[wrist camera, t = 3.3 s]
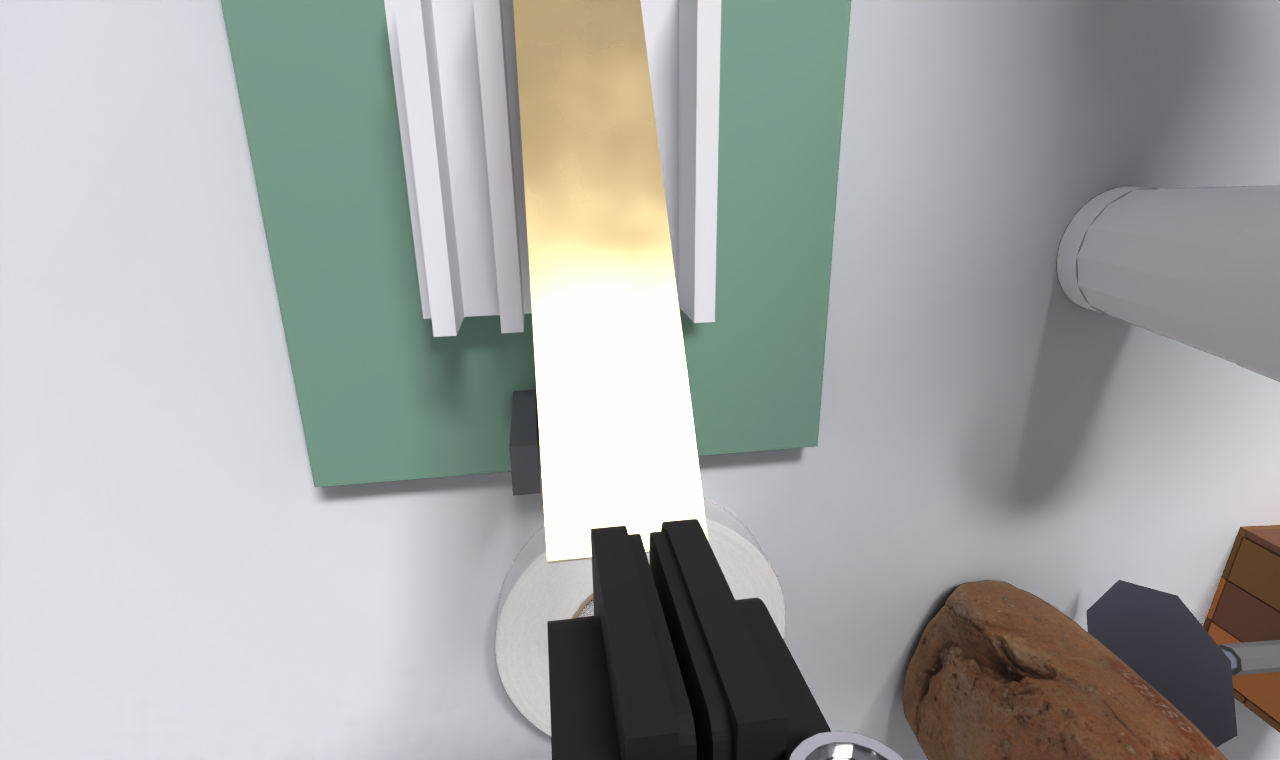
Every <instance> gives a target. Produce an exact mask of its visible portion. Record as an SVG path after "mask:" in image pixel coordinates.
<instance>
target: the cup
mask: <svg viewBox="0 0 1280 760" xmlns="http://www.w3.org/2000/svg"><path fill="white" fill-rule="evenodd" d="M1057 274H1058V279H1059V282H1060V285H1061V287H1062V289H1063V291H1064V293H1065V294H1066V296H1067V297H1068V298H1069V299H1070V300H1071V301H1072V302H1074V303H1075V304H1076V305H1078V306H1080V307H1082V308H1085V309H1089V310H1092V311H1096V312H1100V313H1103V314H1107V315H1110V316H1113V317H1116V318H1118V319H1121V320H1123V321H1126V322H1129V323H1131V324H1134V325H1137V326H1139V327H1142V328H1144V329H1147V330H1150V331H1152V332H1155V333H1158V334H1160V335H1163V336H1165V337H1168V338H1171V339H1173V340H1176V341H1179V342H1181V343H1184V344H1186V345H1189V346H1192V347H1194V348H1197V349H1199V350H1202V351H1205V352H1207V353H1210V354H1213V355H1215V356H1218V357H1220V358H1223V359H1226V360H1228V361H1231V362H1234V363H1236V364H1237V365H1239V366H1241V367H1244V368H1246V369H1249V370H1251V371H1254V372H1256V373H1259V374H1261V375H1264V376H1266V377H1269V378H1271V379H1274V380H1276V381H1279V382H1280V185H1277V186H1242V187H1207V188H1172V189H1158V188H1148V187H1130V186H1126V187H1118V188H1114V189H1110V190H1108V191H1105V192H1103V193H1101V194H1099V195H1098V196H1096V197H1094V198H1093V199H1092V200H1090V201H1089V202H1088V203H1087V204H1085V205H1084V206H1083V207H1082V208H1081V209H1080V210H1079V211H1078V213H1077V214H1076V215H1075V216H1074V218H1073V219H1072V220H1071V222H1070V223H1069V225H1068V227H1067V229H1066V230H1065V232H1064V235H1063V237H1062V240H1061V243H1060V246H1059V250H1058V255H1057Z"/></svg>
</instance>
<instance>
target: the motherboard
mask: <svg viewBox="0 0 1280 760" xmlns="http://www.w3.org/2000/svg"><path fill="white" fill-rule="evenodd" d="M640 1H641V9H642V17H643V25H644V33H645V41H646V49H647V57H648V65H649V73H650V81H651V89H652V97H653V105H654V112H655V120H656V128H657V136H658V144H659V152H660V160H661V168H662V176H663V184H664V192H665V200H666V208H667V216H668V224H669V232H670V240H671V248H672V256H673V264H674V272H675V280H676V288H677V296H678V304H679V312H680V320H681V328H682V336H683V344H684V352H685V360H686V368H687V376H688V384H689V392H690V400H691V408H692V416H693V423H694V431H695V439H696V447H697V455H698V456H704V455H717V454H729V453H741V452H753V451H766V450H778V449H790V448H802V447H815V446H817V445H818V432H819V419H820V406H821V393H822V379H823V366H824V353H825V340H826V327H827V313H828V300H829V287H830V274H831V261H832V247H833V234H834V221H835V208H836V194H837V181H838V168H839V155H840V142H841V128H842V115H843V102H844V89H845V76H846V62H847V49H848V36H849V23H850V10H851V0H640ZM221 4H222V9H223V14H224V20H225V25H226V30H227V35H228V40H229V46H230V51H231V56H232V61H233V66H234V72H235V77H236V82H237V87H238V92H239V97H240V103H241V108H242V113H243V118H244V123H245V129H246V134H247V139H248V144H249V149H250V155H251V160H252V165H253V170H254V175H255V180H256V186H257V191H258V196H259V201H260V206H261V212H262V217H263V222H264V227H265V232H266V238H267V243H268V248H269V253H270V258H271V263H272V269H273V274H274V279H275V284H276V289H277V295H278V300H279V305H280V310H281V315H282V321H283V326H284V331H285V336H286V341H287V346H288V352H289V357H290V362H291V367H292V372H293V378H294V383H295V388H296V393H297V398H298V404H299V409H300V414H301V419H302V424H303V429H304V435H305V440H306V445H307V450H308V455H309V461H310V466H311V471H312V476H313V481H314V487H325V486H337V485H350V484H362V483H374V482H386V481H399V480H411V479H423V478H435V477H448V476H460V475H472V474H484V473H496V472H509V471H511V474H512V485H513V495H525V494H536V493H540V469H541V453H540V437H539V421H538V404H537V388H536V371H535V355H534V338H533V322H532V305H531V289H530V272H529V256H528V239H527V223H526V206H525V190H524V173H523V157H522V140H521V124H520V107H519V91H518V74H517V58H516V41H515V25H514V8H513V0H221Z"/></svg>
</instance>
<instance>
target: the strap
mask: <svg viewBox="0 0 1280 760" xmlns="http://www.w3.org/2000/svg"><path fill="white" fill-rule="evenodd" d="M513 8H514V25H515V41H516V58H517V74H518V91H519V107H520V124H521V140H522V157H523V173H524V190H525V206H526V223H527V239H528V256H529V272H530V289H531V305H532V322H533V338H534V355H535V371H536V388H537V404H538V421H539V437H540V453H541V470H542V486H543V503H544V519H545V536H546V552H547V562H548V563H557V562H567V561H577V560H587V559H592V554H591V528H602V527H612V526H623V525H625V526H626V528H627V531H628V534H637V533H640V534H641V537H642V541H643V544H644V548H645V551H646V553H649V536H650V532H658V531H661V525H662V522H665V521H675V520H686V519H698V520H699V522H700V524H701V526H702V529H703V531H704V533H705V535H706V537H707V539H708V535H707V527H706V519H705V511H704V503H703V495H702V487H701V479H700V471H699V463H698V455H697V447H696V439H695V431H694V423H693V416H692V408H691V400H690V392H689V384H688V376H687V368H686V360H685V352H684V344H683V336H682V328H681V320H680V312H679V304H678V296H677V288H676V280H675V272H674V264H673V256H672V248H671V240H670V232H669V224H668V216H667V208H666V200H665V192H664V184H663V176H662V168H661V160H660V152H659V144H658V136H657V128H656V120H655V112H654V105H653V97H652V89H651V81H650V73H649V65H648V57H647V49H646V41H645V33H644V25H643V17H642V9H641V1H640V0H513Z"/></svg>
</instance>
